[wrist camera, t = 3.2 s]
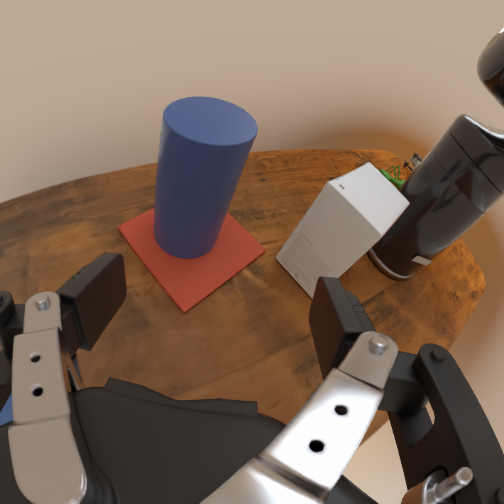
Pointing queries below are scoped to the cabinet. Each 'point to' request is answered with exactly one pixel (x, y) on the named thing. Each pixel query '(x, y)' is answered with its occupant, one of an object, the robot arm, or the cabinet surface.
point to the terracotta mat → (196, 269)
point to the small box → (341, 226)
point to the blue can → (198, 172)
